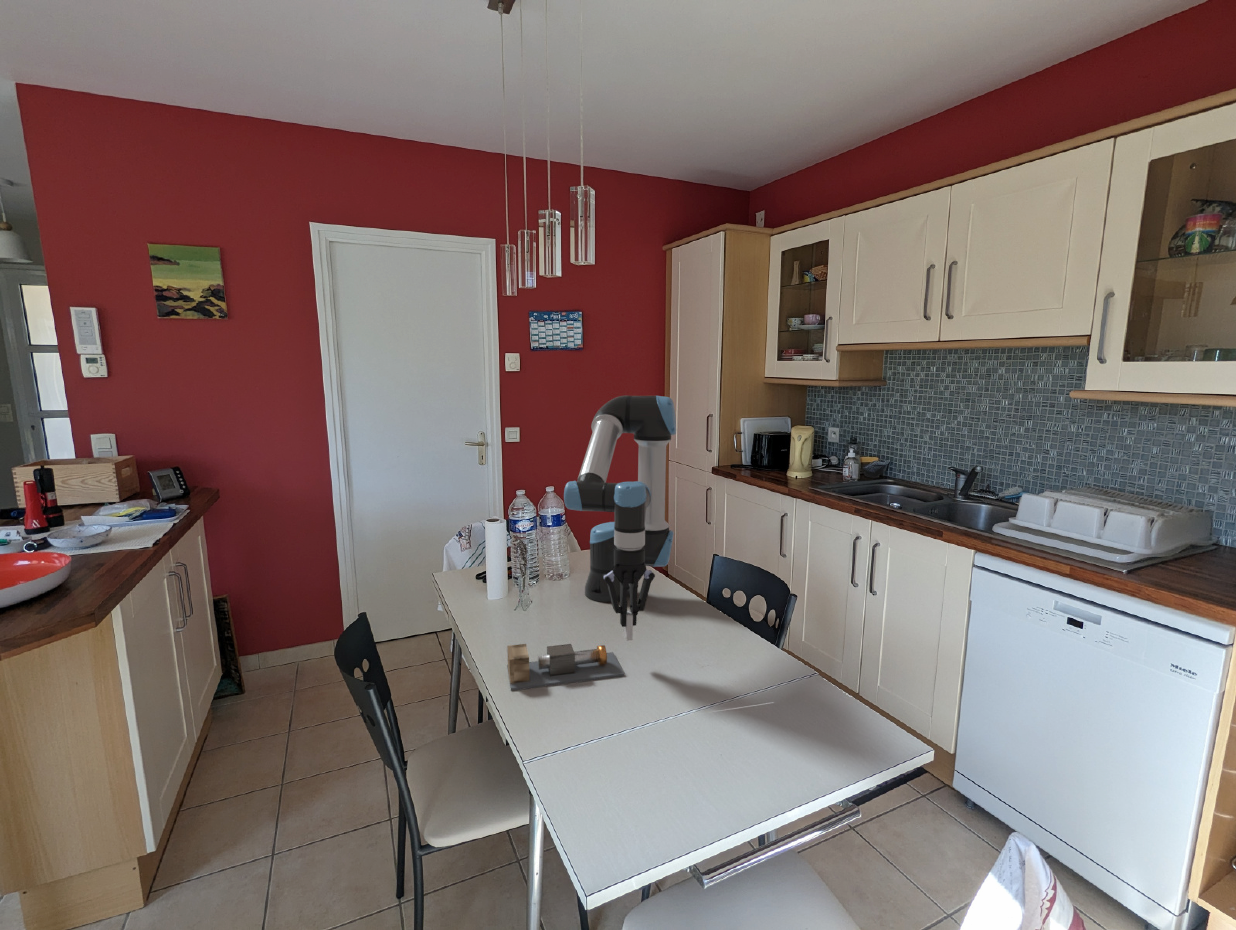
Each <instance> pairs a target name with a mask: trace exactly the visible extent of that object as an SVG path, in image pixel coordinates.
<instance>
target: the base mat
mask: <svg viewBox="0 0 1236 930" xmlns="http://www.w3.org/2000/svg"><path fill="white" fill-rule="evenodd" d="M506 667H507V669H508V664H507V665H506ZM507 673H508V672H507ZM508 676H509V673H508ZM619 677H625V672H624V671H623V668H622V667H621V665H620V663H619V661H618V658H617V657H616V655H615V653H614V652H613V651H611V652H607V664H606V665H599V664H598V663H590V664H581V665H575V673H574V674H567V675H559V676H551V677H550V674H549V670H548V669H541V670H539V668H538V660H535V661H529V679H530V681H527V682H519V683H511V684H510V683H509V688H510V691H518V690H519V691H520V690H526V689H533V688H540V687H541V688H542V687H548V686H556V685H557V686H559V685H563V684H564V685H565V684H571V683H579V682H586V681H595V680H603V679H610V678H619ZM508 680H509V679H508ZM508 682H510V680H509V681H508Z"/></svg>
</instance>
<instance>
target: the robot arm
mask: <svg viewBox="0 0 1236 930" xmlns="http://www.w3.org/2000/svg"><path fill="white" fill-rule="evenodd" d="M590 427H591V431H592V434H591V436H590V439H589V442H588V446H587V448H586V452H585V455H584V458H583V461H582V464H581V467H580V471H579V474H578V475H577V476H578V477H577V479H576V480H577V481H576V480H573V481H571V480H570V481H568V482H567V483H566V484H565V485H564V486H565V487H564V489H563V491H564V492H563V502H564V505H565V508H566V509H568V510H570V511H571V510H572V511H579V512H607V513H614V521H609V522H603V523H600V524H598V525H595V526H594V527H592V528H591V529H590V538H589V539H590V540H589V554H590V555H589V557H590V558H589V560H590V561H589V566H590V567H589V573H588V576H587V579H586V583H585V585H584V595H585V597H587V599H590V600H592V601H595V602H602V603H611V605H612V610H613V611H614V612H615V613H616V614H620V615H619V624H620V625H621V627H622V628H623V637H624V639H625V640H626V641H633V635H634V634H633V632H634V630H633V627H634V626H637V619H638V618H637V616H638V615H639V612H643V611H644V610H645V608H646V604H647V599H648V596H649V592H650V587H651V583H652V582H653V580H654V579H655V577H656V574H655V573H654V571H652V570H650V569H647V567H652V568H656V567H666V566H667V565H668V564H669V563H670V562H669V561H670V557H671V552H672V546H673V540H674V535H675V534H674V533H675V532H674V530H671V529H670V524H669V523H668V522H667V520H665V516H666V515H665V513H666V511H665V510H666V473H667V471H666V470H667V466H666V464H667V446H668V444H669V443H670V442H671V441H672V436H674V435H676V434H677V419H676V410H675V405H674V401H673V399H672V398H671V397H670V396H661V395H619V396H616V397H614V398H612V399H610V400H609V401H607V402H606V403H604V404H603V405H602V406H601V407H599V409H598V410H597V412H596V413H595V415H594V417H593V419H592V422H591V425H590ZM622 434H633V441H635V443H637V445H638V456H637V457H638V458H637V459H638V462H637V463H638V464H637V465H638V466H637V469H638V470H637V480H635V481H622V482H607V479H608V474H609V471H610V467H611V464H612V461H613V456H614V452H615V449H616V445H617V440H618V439H619V438H620V437H621V436H622ZM642 578H643V580H642V583H641V587H640V592H639V595H638V591H639V589H638V588H639V582H640V580H641V579H642ZM628 598H629V610H628Z"/></svg>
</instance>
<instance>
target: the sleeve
mask: <svg viewBox="0 0 1236 930" xmlns="http://www.w3.org/2000/svg"><path fill="white" fill-rule="evenodd" d="M574 652H575V650H574V648H573V645H572V643H567V644H559V645H556V644H555V645H548V646H546V655H549V657H550V668H549V669H548V670H549V674H550V677H551V676H559V675H567V674H574V673H575V653H574Z"/></svg>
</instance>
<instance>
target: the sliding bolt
mask: <svg viewBox="0 0 1236 930" xmlns="http://www.w3.org/2000/svg"><path fill="white" fill-rule="evenodd" d="M574 653H575V665H581V664H590V663H598V664H599V665H606V664H607V653H608V652H607V648H606V645H604V644H603V645H597V646H596V648H593V649H586V650H584V649H583V650H576V651H575V650H574ZM537 661H538V668H539V670H541V669H549V668H550V657H549V655H547V654H544V655H543V654H541V655H537Z"/></svg>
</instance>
